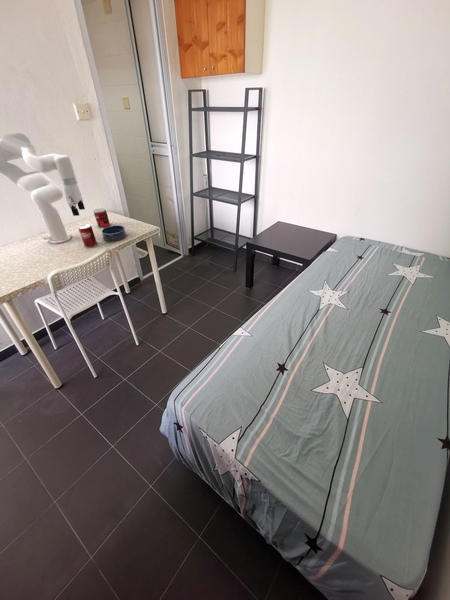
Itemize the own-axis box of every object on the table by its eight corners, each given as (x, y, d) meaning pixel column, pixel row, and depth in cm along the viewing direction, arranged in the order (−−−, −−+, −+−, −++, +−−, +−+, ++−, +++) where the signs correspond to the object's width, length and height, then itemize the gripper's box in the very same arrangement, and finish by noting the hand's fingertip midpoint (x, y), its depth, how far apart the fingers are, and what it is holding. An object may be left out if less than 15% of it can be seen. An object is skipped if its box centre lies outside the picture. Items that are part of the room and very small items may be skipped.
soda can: (93, 248, 169) (86, 229, 162) (82, 247, 170) (75, 228, 163) (99, 242, 175) (93, 224, 167) (89, 242, 176) (82, 223, 169)
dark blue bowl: (104, 243, 174) (102, 236, 171) (102, 235, 184) (100, 228, 181) (128, 238, 178) (126, 231, 175) (124, 231, 188) (122, 223, 185)
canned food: (98, 224, 199) (93, 209, 193) (110, 222, 201) (105, 207, 194) (97, 228, 193) (92, 212, 187) (110, 226, 195) (105, 211, 189)
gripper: (67, 177, 159) (77, 207, 169) (55, 185, 145) (67, 218, 155) (81, 176, 159) (90, 207, 170) (70, 185, 145) (81, 217, 156)
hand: (79, 212), depth 162 cm, fingers open, 9 cm apart
